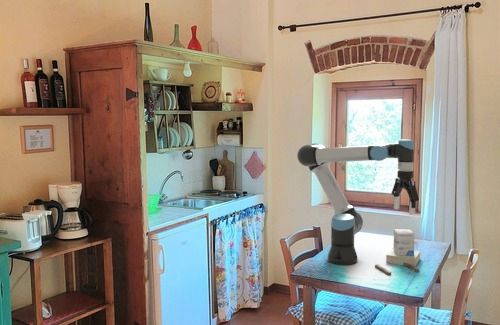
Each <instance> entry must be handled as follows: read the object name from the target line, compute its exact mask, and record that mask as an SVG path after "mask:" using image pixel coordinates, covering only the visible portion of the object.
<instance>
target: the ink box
mask: <svg viewBox="0 0 500 325" xmlns="http://www.w3.org/2000/svg"><path fill="white" fill-rule="evenodd" d="M393 248H394V252H395V253H396V254H397V255H414V251H415V233H414V231H412V230H411V229H404V228H402V229H401V228H399V229H398V228H394V229H393Z"/></svg>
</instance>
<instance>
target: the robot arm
mask: <svg viewBox="0 0 500 325" xmlns="http://www.w3.org/2000/svg"><path fill="white" fill-rule="evenodd" d="M414 154H415V143H414V140H412V139H399V140H398V141H397V142H395V143H390V142H389V143H388V142H375V143H374V144H371V145H359V146H358V145H355V146H338V147H325V146H324V145H322V144H320V143H311V144H305V145H302V146H301V147H300V148H299V149H298V151H297V161H298V163H299V164H301V165H302V166H304V167H308V169H309V171H310V173H314V175H315V176H316V178H317V180H318V182H319V184H320V186H321V188H322V189H323V192H324V194H325V195H326V198H327V199H328V201H329V203H330V205H331V207H332V209H333V210H334V215H333V216H332V217H331V220H330V225H331V226H330V227H331V228H330V230H331V231H330V234H331V235H330V239H331V241H330V243H331V244H330V245H331V246H330V248H329V251H328V254H327V262H329V263H331V264H333V265H339V266H340V265H342V266H350V265H354V264H357V263H358V255H357V251H356V248H355V235H356V234H358V233H359V232H361V231H360V230H362V228H363V225H364V219H363V217H362V215H361V214H360V213H359V212H357V211H356V209H355V207H354V206H353V205H351V204H350V203H349V201H348V199H347V198H346V196H345V195H344V192H343V191H342V188H341V187H340V184H339V183H338V180H337V179H336V177H335V175H334V173H333V172H332V169H331V167H330V166H329V165H330V163H346V162H364V161H365V162H366V161H377V162H380V161H384V160H385V159H397V177H395V178H394V184H393V188H392V189H391V196H392V195H393V209H394V210H400V200H401V197H400V194H401V193H402V191H403V189H404V190H405V191H406V192H407V196H408V198H409V211H408V212H409V213H408V214H409V215H410V216H411V215H412V216H413V215H416V205H417V204H416V202H419V201H420V200H419V199H420V198H419V195H418V191H417V187H416V181H414V180H413V181H412V179H413V178H414V167H415V166H414V159H415V156H414Z"/></svg>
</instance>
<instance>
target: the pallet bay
mask: <svg viewBox="0 0 500 325" xmlns="http://www.w3.org/2000/svg"><path fill="white" fill-rule="evenodd" d="M402 266H404V267H405V268H408V269H409V270H412V271H413V270H414V272H416V273H420V269H419V268H417V267H416V266H415V267H414V266H412V265H410V264H408V263H403V265H402ZM374 267H375V268H376V269H377V270H379V271H380V272H382V273H384V274H386V275H387V276H391V275H392V272H391V271H390V270H388V269H386V268H384V267H383V266H381V265H380V264H374Z"/></svg>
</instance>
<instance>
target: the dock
mask: <svg viewBox="0 0 500 325" xmlns="http://www.w3.org/2000/svg"><path fill="white" fill-rule="evenodd" d="M385 255H386V256H385V261H386V263H388V264H394V265H400V266H404V265H403V263H408V264H410V265H412V266H414V267H416V266H417V264H418V263H419V261H420V260H421V251H420V250H419V251H418V250H414V255H397V254H396V253H395V252H394V247H393V248H391V249H390V251H388V252H387V253H386V254H385Z"/></svg>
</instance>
